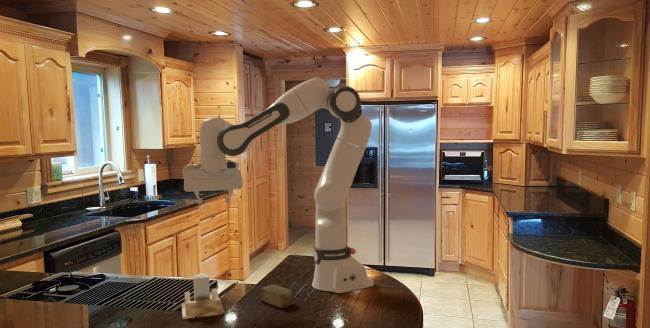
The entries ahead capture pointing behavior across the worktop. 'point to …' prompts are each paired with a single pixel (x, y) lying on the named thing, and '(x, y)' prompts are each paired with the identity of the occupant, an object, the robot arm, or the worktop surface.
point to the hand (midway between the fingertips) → (214, 203)
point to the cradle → (201, 306)
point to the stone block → (277, 296)
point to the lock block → (201, 287)
